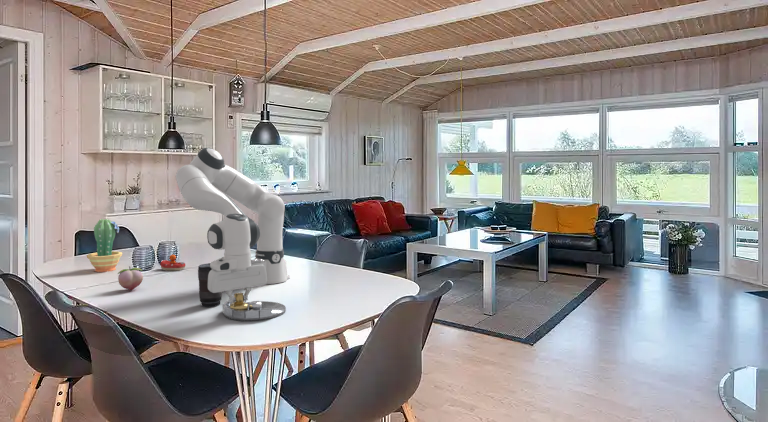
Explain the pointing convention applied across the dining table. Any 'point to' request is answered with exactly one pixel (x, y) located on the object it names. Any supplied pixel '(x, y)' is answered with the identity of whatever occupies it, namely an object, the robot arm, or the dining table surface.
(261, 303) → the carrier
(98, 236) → the potted cactus
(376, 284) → the dining table surface
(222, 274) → the robot arm
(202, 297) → the camera lens
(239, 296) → the planet gear
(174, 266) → the toy boat
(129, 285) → the decorative fruit
